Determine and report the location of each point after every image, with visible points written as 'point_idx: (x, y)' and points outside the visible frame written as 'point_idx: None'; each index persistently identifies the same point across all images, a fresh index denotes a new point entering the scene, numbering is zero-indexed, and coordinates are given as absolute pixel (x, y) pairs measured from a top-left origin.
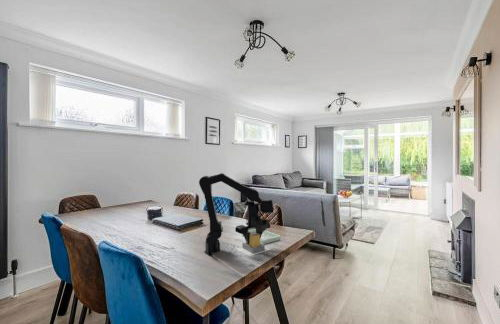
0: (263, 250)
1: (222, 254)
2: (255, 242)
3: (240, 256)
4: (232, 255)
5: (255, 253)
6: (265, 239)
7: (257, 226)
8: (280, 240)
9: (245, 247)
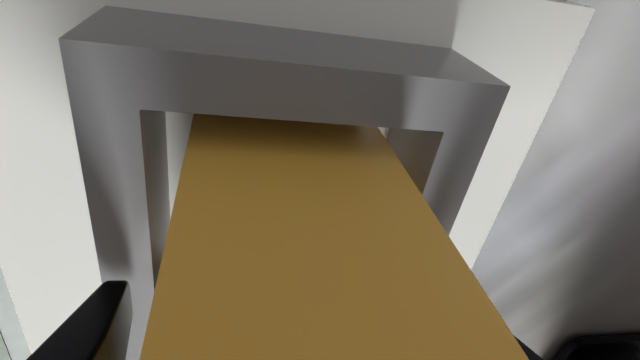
0: (149, 11)
1: (592, 305)
2: (373, 227)
3: (561, 152)
4: (574, 234)
5: (417, 17)
6: None
7: None
8: None
9: None
